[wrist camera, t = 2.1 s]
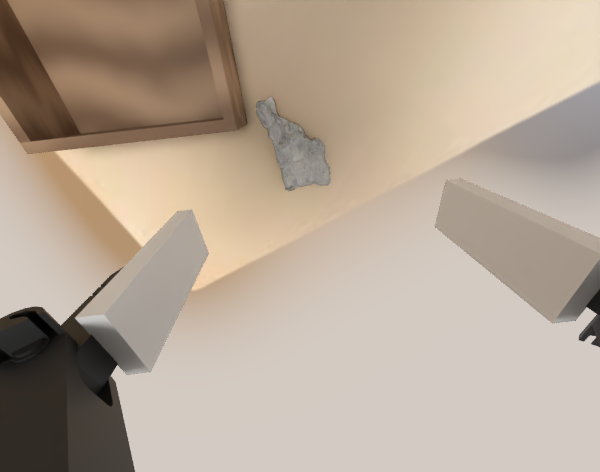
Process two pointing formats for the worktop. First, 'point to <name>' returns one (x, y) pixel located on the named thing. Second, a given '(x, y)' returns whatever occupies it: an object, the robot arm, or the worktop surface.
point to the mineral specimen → (294, 149)
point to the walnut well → (116, 71)
